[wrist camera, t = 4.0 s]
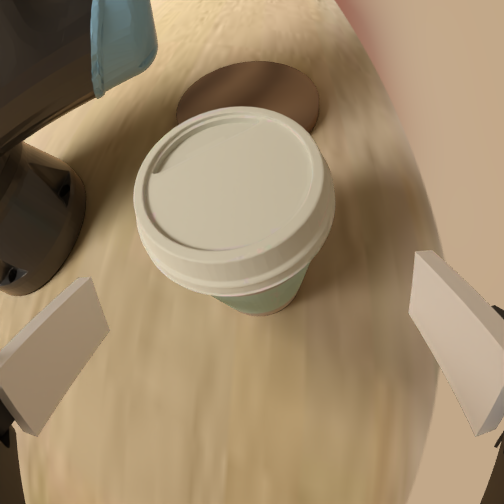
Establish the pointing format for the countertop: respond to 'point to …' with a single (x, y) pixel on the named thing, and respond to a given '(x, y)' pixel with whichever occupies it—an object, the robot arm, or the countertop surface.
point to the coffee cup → (235, 206)
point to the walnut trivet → (254, 92)
